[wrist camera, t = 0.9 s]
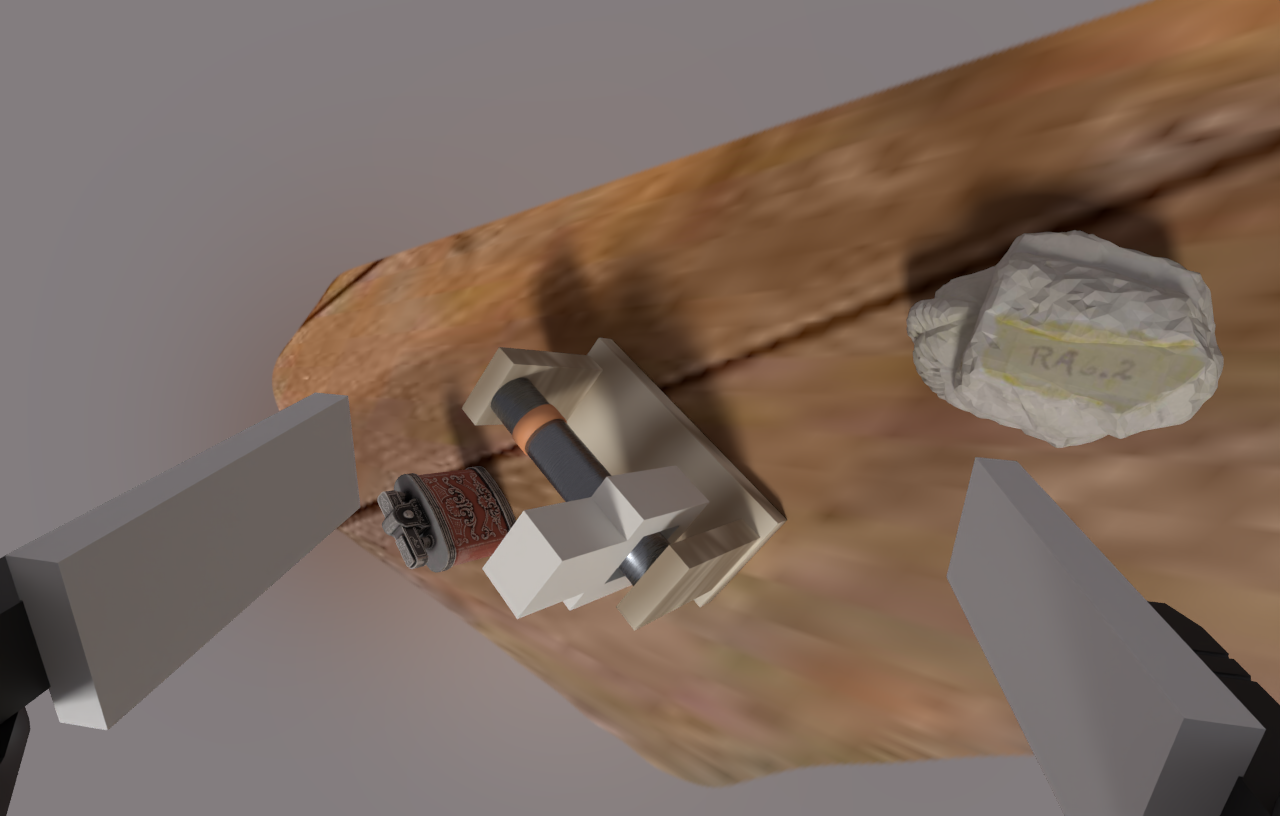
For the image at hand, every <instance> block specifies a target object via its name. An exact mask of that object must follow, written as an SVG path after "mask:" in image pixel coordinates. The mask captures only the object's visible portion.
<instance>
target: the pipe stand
mask: <svg viewBox="0 0 1280 816" xmlns="http://www.w3.org/2000/svg"><path fill="white" fill-rule="evenodd" d="M462 409H463V411H464V412H465V413H466V414H467V416H468V417H469V418H470V420H471V421H472V422H473V423H474V425H497V424H504V426H505V427H506V428H507V429H508V431H509V432H510V433H511V434H512V437H513V439H514V441H515V442H516V443H517V444H518V446H519V447H520V448H521V449H522V451H523V452H524V453H525V454H526V455H528V456H529V457H530V458H531V459H532V460H533V462H534V463H535V464H536V465H537V467H538V468H539V469H540V470H541V472H542V473H543V474H544V475H545V477H546V478H547V479H548V480H549V482H550V483H551V484H552V485H553V487H554V488H555V489H556V490H557V492H558V493H559V494H560V495H561V497H562V498H563V499H564V500H565V502H569V501H574V500H579V499H584V498H589V497H592V495H593V494H594V493H595V491H596V490H597V489H598V487H599V486H600V485H601V483H602V482H603V481H604V480H605V478H606V477H607V476H613V475H619V474H625V473H632V472H638V471H644V470H650V469H656V468H662V467H668V466H675V465H676V466H677V467H678V468H679V469H680V470H681V471H682V472H683V473H684V475H685V476H686V477H687V478H688V479H689V480H690V481H691V482H692V483H693V484H694V485H695V486H696V488H697V489H698V490H699V491H700V492H701V493H702V494H703V495H704V496H705V497H706V498H707V499H708V501H709V503H708V505H707V506H706V507H705V508H704V509H703V510H702V511H701V513H700V514H699V515H698V516H697V517H696V518H695V520H694V521H693V522H692V523H691V524H690V525H689V527H688V528H687V529H686V530H685V531H684V532H683V534H682V535H681V536H680V537H679V538H678V539H677V541H676V542H675V543H673V544H670V543H669V542H668V541H667V539H666V538H665V537H664V536H663V535H662V534H661V532H657V533H653V534H650V535H647V536H644V537H643V538H642V539H641V540H640V541H639V543H638V544H637V545H636V546H635V547H634V549H633V550H632V551H631V552H630V554H629V555H628V556H627V557H626V558H625V560H624V561H623V562H622V563H621V564H620V566H619V567H618V568H619V569H620V570H621V571H622V573H623V574H624V575H625V576H626V578H627V579H628V580H629V581H630V582H631V584H632V585H633V588H632V589H631V590H630V591H629V592H628V593H627V595H626V596H625V597H624V598H623V599H622V600H621V602H620V603H619V604H618V605H617V606H616V608H617V609H618V610H619V611H620V613H621V614H622V615H623V617H624V618H625V619H626V620H627V622H628V623H629V624H630V626H631V627H632V628H633V629H634V631H635V630H637V629H639V628H640V627H642V626H644V625H646V624H648V623H650V622H652V621H654V620H656V619H658V618H659V617H661V616H663V615H665V614H667V613H669V612H671V611H673V610H675V609H677V608H679V607H680V606H682V605H684V604H686V603H688V602H690V601H692V600H694V601H695V602H696V603H697V604H698V605H699V607H702V606H703V605H705V604H707V603H709V602H711V601H712V599H713V598H714V597H715V596H716V595H717V594H718V593H719V592H720V591H721V590H722V589H723V588H724V587H725V586H726V585H727V583H728V582H729V581H730V580H731V579H732V578H733V577H734V576H735V575H736V574H737V573H738V572H739V571H740V570H741V569H742V567H743V566H744V565H745V564H746V563H747V562H748V561H749V560H750V559H751V558H752V557H753V556H754V555H755V554H756V552H757V551H758V550H759V549H760V548H761V547H762V546H763V545H764V544H765V543H766V542H767V541H768V540H769V539H770V538H771V536H772V535H773V534H774V533H775V532H776V531H777V530H778V529H779V528H780V527H781V526H782V525H783V524H784V523H785V522H786V520H787V519H786V518H785V517H784V516H783V515H782V514H781V513H780V512H779V511H778V510H777V509H776V508H775V507H774V506H773V505H772V504H771V503H770V502H769V501H768V500H767V499H766V498H765V497H764V496H763V495H762V494H761V493H760V492H759V491H758V490H757V489H756V488H755V487H754V486H753V485H752V483H751V482H750V481H749V480H748V479H747V478H746V477H745V476H744V475H743V474H742V473H741V472H740V471H739V470H738V469H737V468H736V467H735V466H734V465H733V464H732V463H731V462H730V461H729V460H728V459H727V458H726V457H725V456H724V455H723V454H722V453H721V452H720V451H719V450H718V448H717V447H716V446H715V445H714V444H713V443H712V442H711V441H710V440H709V439H708V438H707V437H706V436H705V435H704V434H703V433H702V432H701V431H700V430H699V429H698V428H697V427H696V426H695V425H694V424H693V423H692V422H691V421H690V420H689V419H688V418H687V417H686V416H685V415H684V414H683V412H682V411H681V410H680V409H679V408H678V407H677V406H676V405H675V404H674V403H673V402H672V401H671V400H670V399H669V398H668V397H667V396H666V395H665V394H664V393H663V392H662V391H661V390H660V389H659V388H658V387H657V386H656V385H655V384H654V383H653V382H652V381H651V380H650V379H649V377H648V376H647V375H646V374H645V373H644V372H643V371H642V370H641V369H640V368H639V367H638V366H637V365H636V364H635V363H634V362H633V361H632V360H631V359H630V358H629V357H628V356H627V355H626V354H625V353H624V352H623V351H622V350H621V349H620V348H619V347H618V346H617V345H616V344H615V343H614V341H613V340H612V339H606V338H598V340H597V341H596V343H595V344H594V346H593V347H592V349H591V350H590V351H589V353H588V354H587V355H578V354H568V353H557V352H546V351H536V350H525V349H514V348H503V347H499V349H498V350H497V352H496V353H495V355H494V357H493V358H492V360H491V362H490V363H489V365H488V366H487V368H486V370H485V371H484V373H483V375H482V376H481V378H480V379H479V381H478V383H477V384H476V386H475V388H474V389H473V391H472V392H471V394H470V396H469V397H468V399H467V401H466V402H465V404H464V405H463V407H462Z"/></svg>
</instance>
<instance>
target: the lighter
mask: <svg viewBox="0 0 1280 816" xmlns="http://www.w3.org/2000/svg"><path fill="white" fill-rule="evenodd" d="M378 503H379V506H380V508H381V510H382V512H383V514H384V516H385V520H384V521H383V523H382V527H383V529H384V532H385V533H387V534H388V535H391V536H393V537H394V538H395V540H396V544H397V546H398V548H399V551H400V553H401V555H402V557H403V559H404V561H405V563H406V565H407V567H409V568H410V569H414V568H418V567H422V566H424V565H427V566H428V568H429V569H430V570H431V571H433V572H441V571H445V570H448V569H450V568H451V567H452V566H454V565H458V564H462V563H465V562H469V561H473V560H477V559H480V558H484V557H488V556H492V554H493V553H494V552H495V550H496V549H497V547H498V546H499V545H500V543H501V542H502V540H503V539H504V538H505V536H506V535H507V533H508V532H509V531H510V529H511V528H512V526H513V525H514V524H515V522H516V520H515V517H514V515H513V513H512V511H511V508H510V506H509V504H508V502H507V500H506V498H505V496H504V495H503V493H502V491H501V490H500V488H499V487H498V485H497V483H496V482H495V481H494V479H493V478H492V477H491V476H490V474H489V473H488V472H487V470H486V469H485V468H483V467H481V466H475V467H469V468H467V469H466V470H459V471H450V472H442V473H433V474H424V475H417V474H414V473H412V474H404V475H401V476H400V477H399V478H398V479H397V480H396V482H395V486H394V491H386V492H382V493H381V494H380V495H379V496H378Z"/></svg>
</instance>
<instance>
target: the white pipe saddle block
mask: <svg viewBox="0 0 1280 816" xmlns="http://www.w3.org/2000/svg"><path fill="white" fill-rule="evenodd" d="M708 503H709V501H708V499H707V498H706V497H705V496H704V495H703V494H702V493H701V492H700V491H699V490H698V489H697V488H696V486H695V485H694V484H693V483H692V482H691V481H690V480H689V479H688V478H687V477H686V476H685V475H684V473H683V472H682V471H681V470H680V469H679V468H678V467H677V466H676V465H675V466H668V467H662V468H656V469H650V470H644V471H638V472H632V473H625V474H619V475H613V476H607V477H606V478H605V480H604V481H603V482H602V483H601V485H600V486H599V487H598V489H597V490H596V491H595V493H594V494H593V495H592V497H589V498H584V499H579V500H574V501H569V502H564V503H559V504H554V505H549V506H544V507H539V508H534V509H529V510H524V511H523V512H522V514H521V515H520V517H519V518H518V519H517V521H516V522H515V524H514V525H513V526H512V528H511V529H510V531H509V532H508V533H507V535H506V536H505V538H504V539H503V540H502V542H501V543H500V545H499V546H498V547H497V549H496V550H495V552H494V553H493V554H492V556H491V557H490V559H489V560H488V561H487V563H486V564H485V565H484V567H483V568H482V569H483V570H484V572H485V573H486V575H487V576H488V578H489V579H490V580H491V582H492V583H493V585H494V586H495V588H496V589H497V590H498V592H499V593H500V595H501V596H502V598H503V599H504V601H505V602H506V603H507V605H508V606H509V608H510V609H511V611H512V612H513V613H514V615H515V616H516V618H517V619H519V618H521V617H524V616H526V615H529V614H531V613H534V612H536V611H539V610H541V609H544V608H547V607H549V606H552V605H554V604H557V603H559V602H562V601H563V602H564V604H565V605H566V606H567V608H568V609H569V610H573V609H575V608H578V607H580V606H582V605H585V604H587V603H590V602H592V601H594V600H597V599H599V598H602V597H604V596H606V595H609V594H611V593H614V592H616V591H618V590H621V589H623V588H625V587H628V586H630V585H632V584H631V582H630V581H629V580H628V579H627V578H626V576H625V575H624V574H623V573H622V571H621V570H620V569H619V568H618V567H619V566H620V564H621V563H622V562H623V561H624V560H625V558H626V557H627V556H628V555H629V554H630V552H631V551H632V550H633V549H634V547H635V546H636V545H637V544H638V543H639V541H640V540H641V539H642V538H643V537H644V536H647V535H650V534H653V533H657V532H661V534H662V535H663V536H664V537H665V538H666V539H667V541H668V542H669V543H670V544H673V543H675V542H676V541H677V539H678V538H679V537H680V536H681V535H682V534H683V532H684V531H685V530H686V529H687V528H688V527H689V525H690V524H691V523H692V522H693V521H694V520H695V518H696V517H697V516H698V515H699V514H700V513H701V511H702V510H703V509H704V508H705V507H706V506H707V505H708Z"/></svg>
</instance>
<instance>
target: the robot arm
mask: <svg viewBox="0 0 1280 816" xmlns="http://www.w3.org/2000/svg"><path fill="white" fill-rule="evenodd" d="M359 508H360V500H359V491H358V482H357V473H356V464H355V455H354V446H353V437H352V428H351V419H350V410H349V401H348V396H345V395H334V394H324V393H314V394H312V395H310V396H308V397H306V398H304V399H302V400H301V401H299V402H297V403H295V404H293V405H291V406H289V407H287V408H285V409H283V410H281V411H280V412H278V413H276V414H274V415H272V416H270V417H268V418H266V419H264V420H263V421H261V422H259V423H257V424H255V425H253V426H251V427H249V428H247V429H245V430H243V431H241V432H240V433H238V434H236V435H234V436H232V437H230V438H228V439H226V440H224V441H222V442H221V443H219V444H217V445H215V446H213V447H211V448H209V449H207V450H205V451H204V452H201V453H199V454H198V455H196V456H194V457H192V458H190V459H188V460H186V461H184V462H182V463H181V464H178V465H177V466H175V467H173V468H171V469H169V470H167V471H165V472H163V473H161V474H159V475H158V476H156V477H154V478H152V479H150V480H148V481H146V482H144V483H142V484H140V485H138V486H137V487H135V488H133V489H131V490H129V491H127V492H125V493H123V494H121V495H119V496H118V497H116V498H114V499H112V500H110V501H108V502H106V503H104V504H102V505H100V506H99V507H97V508H95V509H93V510H91V511H89V512H87V513H85V514H83V515H81V516H79V517H77V518H76V519H74V520H72V521H70V522H68V523H66V524H65V525H62V526H60V527H58V528H56V529H55V530H53V531H51V532H49V533H47V534H45V535H43V536H41V537H39V538H37V539H35V540H34V541H32V542H30V543H28V544H26V545H24V546H22V547H20V548H19V549H17V550H14V551H13V552H11V553H9V554H7V555H5V556H4V557H2V558H0V816H6V814H7V811H8V807H9V803H10V800H11V796H12V793H13V789H14V786H15V782H16V778H17V775H18V771H19V768H20V764H21V761H22V757H23V753H24V750H25V746H26V743H27V739H28V735H29V732H30V722H29V717H28V715H27V711H26V708H25V706H26V705H27V704H28V703H30V702H31V701H32V700H34V699H35V698H36V697H38V696H39V695H40V694H42V693H43V692H44V691H46V690H47V689H48V688H49V691H50V694H51V697H52V700H53V703H54V706H55V709H56V712H57V715H58V718H59V721H60V722H62V723H68V724H73V725H79V726H85V727H91V728H97V729H103V730H109V729H110V728H111V727H112V726H113V725H114V724H115V723H117V722H118V721H119V720H120V719H121V718H122V717H123V716H124V715H126V714H127V713H128V712H129V711H130V710H131V709H132V708H134V707H135V706H136V705H137V704H138V703H139V702H140V701H141V700H143V699H144V698H145V697H146V696H147V695H148V694H149V693H151V692H152V691H153V690H154V689H155V688H156V687H157V686H158V685H159V684H161V683H162V682H163V681H164V680H165V679H166V678H168V677H169V676H170V675H171V674H172V673H173V672H174V671H175V670H177V669H178V668H179V667H180V666H181V665H182V664H183V663H184V662H186V661H187V660H188V659H189V658H190V657H191V656H192V655H194V654H195V653H196V652H197V651H198V650H199V649H200V648H201V647H203V646H204V645H205V644H206V643H207V642H208V641H209V640H210V639H212V638H213V637H214V636H215V635H216V634H217V633H218V632H219V631H221V630H222V629H223V628H224V627H225V626H226V625H227V624H229V623H230V622H231V621H232V620H233V619H234V618H235V617H236V616H238V615H239V614H240V613H241V612H242V611H243V610H244V609H245V608H247V607H248V606H249V605H250V604H251V603H252V602H253V601H255V600H256V599H257V598H258V597H259V596H260V595H261V594H263V593H264V592H265V591H266V590H267V589H268V588H269V587H270V586H272V585H273V584H274V583H275V582H276V581H277V580H278V579H280V578H281V577H282V576H283V575H284V574H285V573H286V572H287V571H289V570H290V569H291V568H292V567H293V566H294V565H295V564H296V563H298V562H299V561H300V560H301V559H302V558H303V557H304V556H306V555H307V554H308V553H309V552H310V551H311V550H312V549H313V548H315V547H316V546H317V545H318V544H319V543H320V542H321V541H323V540H324V539H325V538H326V537H327V536H328V535H329V534H330V533H332V532H333V531H334V530H335V529H336V528H337V527H338V526H340V525H341V524H342V523H343V522H344V521H345V520H346V519H347V518H349V517H350V516H351V515H352V514H353V513H354V512H355V511H356V510H358V509H359ZM947 579H948V581H949V583H950V585H951V587H952V589H953V591H954V593H955V595H956V597H957V599H958V601H959V603H960V605H961V607H962V609H963V611H964V613H965V615H966V617H967V619H968V621H969V623H970V625H971V627H972V630H973V632H974V634H975V636H976V638H977V640H978V642H979V644H980V646H981V648H982V650H983V652H984V654H985V656H986V658H987V660H988V662H989V664H990V666H991V668H992V670H993V672H994V674H995V676H996V678H997V680H998V682H999V684H1000V686H1001V688H1002V690H1003V692H1004V694H1005V696H1006V698H1007V700H1008V702H1009V704H1010V706H1011V708H1012V710H1013V712H1014V714H1015V717H1016V719H1017V721H1018V723H1019V725H1020V727H1021V729H1022V731H1023V733H1024V735H1025V737H1026V739H1027V741H1028V743H1029V745H1030V747H1031V749H1032V751H1033V753H1034V755H1035V757H1036V759H1037V761H1038V763H1039V765H1040V767H1041V769H1042V771H1043V773H1044V775H1045V777H1046V779H1047V781H1048V783H1049V785H1050V787H1051V789H1052V791H1053V793H1054V795H1055V797H1056V799H1057V801H1058V803H1059V806H1060V808H1061V810H1062V812H1063V814H1064V816H1280V705H1279V704H1278V703H1277V702H1276V701H1275V700H1274V699H1273V698H1272V697H1271V696H1270V695H1269V694H1268V693H1267V692H1266V691H1265V690H1264V689H1263V688H1262V687H1261V686H1260V685H1259V684H1258V683H1257V682H1254V681H1251V676H1250V675H1249V674H1248V673H1247V672H1246V671H1245V670H1244V669H1243V668H1242V667H1241V666H1240V665H1239V664H1238V663H1237V662H1236V661H1235V660H1234V659H1229V657H1228V655H1229V654H1228V653H1227V652H1226V651H1225V650H1224V649H1223V648H1222V647H1221V646H1220V645H1219V644H1218V643H1217V642H1216V641H1215V640H1214V639H1213V638H1212V637H1211V636H1210V635H1209V634H1208V633H1207V632H1206V631H1205V630H1204V629H1203V628H1202V627H1201V626H1199V625H1198V624H1196V623H1195V622H1193V621H1192V620H1190V619H1188V618H1187V617H1185V616H1184V615H1182V614H1181V613H1179V612H1178V611H1176V610H1175V609H1173V608H1171V607H1170V606H1168V605H1167V604H1165V603H1157V602H1149V601H1146V600H1145V599H1144V598H1143V596H1142V595H1141V594H1140V593H1139V592H1138V591H1137V590H1136V589H1135V588H1134V587H1133V586H1132V585H1131V584H1130V583H1129V581H1128V580H1127V579H1126V578H1125V577H1124V576H1123V575H1122V574H1121V573H1120V572H1119V571H1118V570H1117V569H1116V567H1115V566H1114V565H1113V564H1112V563H1111V562H1110V561H1109V560H1108V559H1107V558H1106V557H1105V556H1104V555H1103V553H1102V552H1101V551H1100V550H1099V549H1098V548H1097V547H1096V546H1095V545H1094V544H1093V543H1092V542H1091V541H1090V539H1089V538H1088V537H1087V536H1086V535H1085V534H1084V533H1083V532H1082V531H1081V530H1080V529H1079V528H1078V527H1077V525H1076V524H1075V523H1074V522H1073V521H1072V520H1071V519H1070V518H1069V517H1068V516H1067V515H1066V514H1065V513H1064V511H1063V510H1062V509H1061V508H1060V507H1059V506H1058V505H1057V504H1056V503H1055V502H1054V501H1053V500H1052V499H1051V497H1050V496H1049V495H1048V494H1047V493H1046V492H1045V491H1044V490H1043V489H1042V488H1041V487H1040V486H1039V485H1038V483H1037V482H1036V481H1035V480H1034V479H1033V478H1032V477H1031V476H1030V475H1029V474H1028V473H1027V472H1026V471H1025V469H1024V468H1023V467H1022V466H1021V465H1020V464H1019V463H1018V462H1017V461H1009V460H999V459H988V458H978V457H975V461H974V466H973V470H972V474H971V478H970V482H969V486H968V490H967V495H966V499H965V503H964V507H963V511H962V515H961V519H960V524H959V528H958V532H957V536H956V540H955V544H954V548H953V552H952V557H951V561H950V565H949V569H948V573H947Z"/></svg>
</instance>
